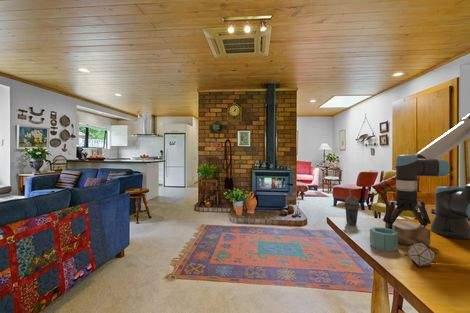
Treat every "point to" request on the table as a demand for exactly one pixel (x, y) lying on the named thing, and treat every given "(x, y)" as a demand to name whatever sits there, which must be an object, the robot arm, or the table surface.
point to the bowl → (384, 239)
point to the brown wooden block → (411, 232)
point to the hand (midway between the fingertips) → (406, 238)
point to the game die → (421, 254)
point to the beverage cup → (351, 209)
